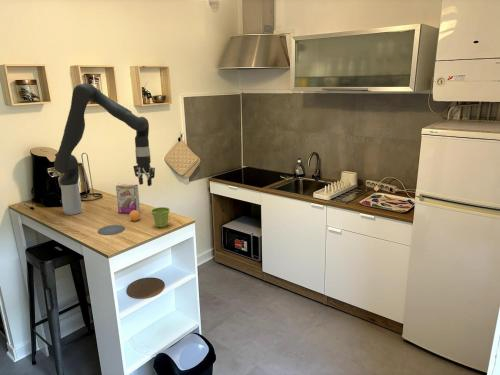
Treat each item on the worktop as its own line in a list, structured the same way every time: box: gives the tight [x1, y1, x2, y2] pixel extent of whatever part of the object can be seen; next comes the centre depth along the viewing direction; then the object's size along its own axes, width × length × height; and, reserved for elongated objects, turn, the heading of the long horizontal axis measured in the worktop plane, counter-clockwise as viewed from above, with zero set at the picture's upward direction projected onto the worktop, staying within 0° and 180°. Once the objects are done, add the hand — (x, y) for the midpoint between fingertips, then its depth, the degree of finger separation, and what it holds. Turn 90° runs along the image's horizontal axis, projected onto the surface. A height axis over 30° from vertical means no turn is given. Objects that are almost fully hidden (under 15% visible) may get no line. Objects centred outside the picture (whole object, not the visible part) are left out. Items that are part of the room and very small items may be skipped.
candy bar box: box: [115, 183, 141, 214], centre depth 215 cm, size 11×5×16 cm, turn 84°
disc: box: [97, 224, 126, 236], centre depth 191 cm, size 13×13×1 cm
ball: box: [128, 210, 141, 222], centre depth 204 cm, size 6×6×6 cm
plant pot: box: [150, 206, 171, 228], centre depth 195 cm, size 9×9×9 cm
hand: (145, 184), depth 208 cm, fingers open, 5 cm apart
